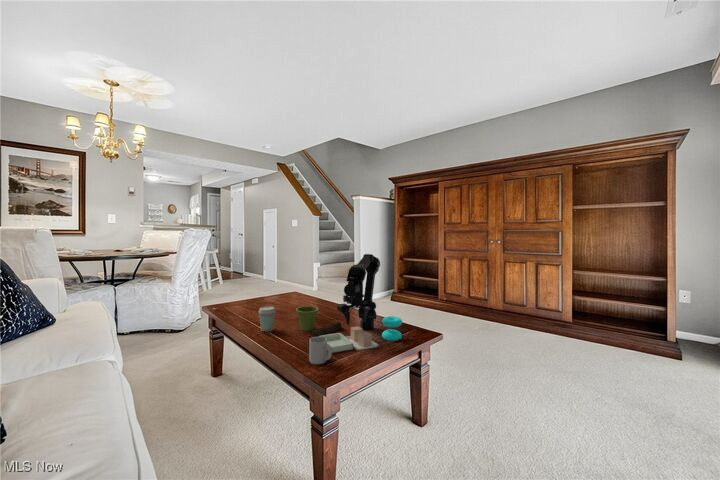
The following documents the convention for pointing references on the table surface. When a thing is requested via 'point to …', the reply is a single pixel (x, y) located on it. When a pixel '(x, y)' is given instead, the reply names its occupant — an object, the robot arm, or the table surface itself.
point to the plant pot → (307, 317)
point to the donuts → (391, 333)
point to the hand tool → (326, 329)
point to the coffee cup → (266, 318)
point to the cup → (319, 350)
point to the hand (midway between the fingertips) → (356, 323)
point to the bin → (338, 342)
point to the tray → (357, 347)
